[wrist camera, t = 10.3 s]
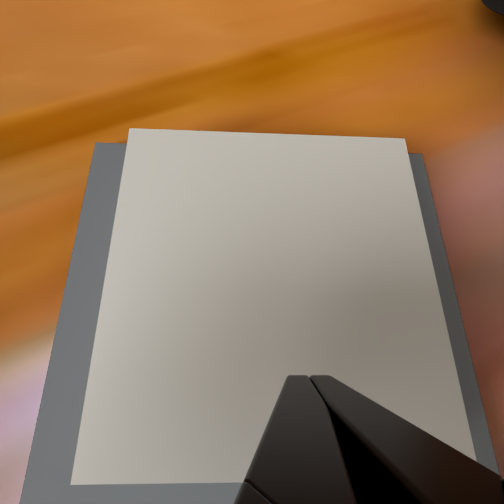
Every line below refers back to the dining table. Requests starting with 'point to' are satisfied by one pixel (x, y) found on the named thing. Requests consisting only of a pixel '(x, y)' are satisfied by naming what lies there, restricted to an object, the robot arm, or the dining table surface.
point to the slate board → (82, 340)
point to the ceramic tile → (258, 300)
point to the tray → (495, 5)
